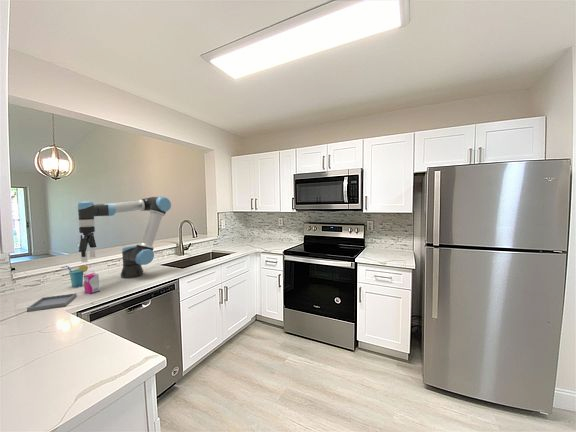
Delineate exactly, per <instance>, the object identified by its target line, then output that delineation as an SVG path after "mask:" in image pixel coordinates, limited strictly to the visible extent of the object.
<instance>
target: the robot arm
mask: <svg viewBox="0 0 576 432" xmlns="http://www.w3.org/2000/svg"><path fill="white" fill-rule="evenodd" d="M171 208H172V202H171V201H170V199H169V198H168V197H166V196H150V197H145V198H140V199H137V200H132V201H121V202H120V201H119V202H110V203H99V204H97V203H96V204H94V202H93V201H78V203H77V214H78V221H77V223H78V226H79V228H78V230H79V232H78V233H80V234H81V235H80V241H79V248H78V252H79V253H80V261H81V263H87V262H88V250H87V249H89V258H93V259H94V258H96V248H97V243H96V240H95V234H94V233H95V231H96V228H95V226H96V225H95V217H110V216H111V217H112V216H114V215H115V214H118V213H119V214H120V213H125V212H127V213H128V212H135V211H140V212H145V211H146V212H147V211H148V212H149V216H148V219H147V222H146V224H145V228H144V230H143V233H142V236H141V239H140V241H139V243H137V244H136V245H131V246H126V247H125V246H124V247H123V248H122V251H121V253H122V269H121V272H120V278H122V279H132V278H134V279H135V278H137V277H141V276H143V275H144V274H145V273H144V268H143V266H144V265H148V264H149V265H150V263H152V261H154V259H155V254H154V249H155V248H154V247H153V244H154V242H155V238H156V237H157V232H158V230H159V228H160V225H161V222H162V218H163V217H165V216H166V213H167V212H168V211H170V209H171ZM88 245H89V248H88Z"/></svg>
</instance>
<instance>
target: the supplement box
mask: <svg viewBox="0 0 576 432" xmlns="http://www.w3.org/2000/svg"><path fill="white" fill-rule="evenodd" d="M83 283H84V285H83V286H84V294H88V295H91V294H95V293H98V292H101V291H100V274H99V273H96V272H92V273H88V274H83Z"/></svg>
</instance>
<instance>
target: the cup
mask: <svg viewBox="0 0 576 432" xmlns="http://www.w3.org/2000/svg"><path fill="white" fill-rule="evenodd" d="M64 268H65V269H66V268H67V269H68V274H69V277H70V278H69V279H70V281H71V282H70V283H71V287H72V288H73V287H74V288H79V286H80V287H82V286H84V285H83V283H84V273H85V272H87V271H88V269H89V267H88V266H87V265H85V264H82V265H80V266H79V267H78V269H75V270H72V269H71V267H70V266H68V265H65V266H61V267H60V269H64Z"/></svg>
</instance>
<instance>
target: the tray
mask: <svg viewBox="0 0 576 432" xmlns="http://www.w3.org/2000/svg"><path fill="white" fill-rule="evenodd" d="M77 295H78V294H77V293H75V292H74V293H68V294H61V295H60V294H59V295H52V296H43V297H41V298H40V299H38V300H36V301H35V302H33V303H32V304H31V305H29V306H28V307H26V313H29V312H35V311H42V310H49V309H50V310H52V309H56V308H64V307H67V306H68V305H69V304H70V303H71V302H73V300H75V299H76V298H77Z"/></svg>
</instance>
